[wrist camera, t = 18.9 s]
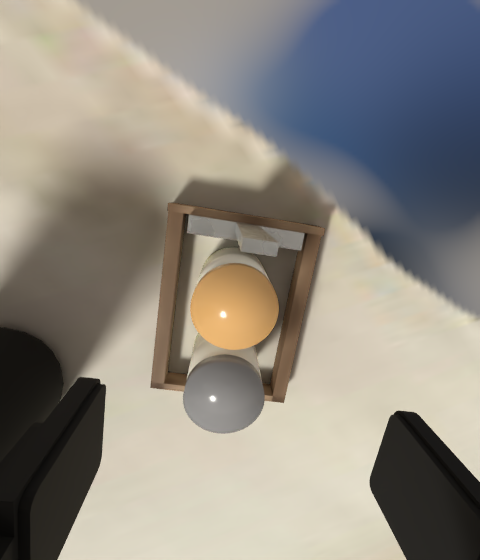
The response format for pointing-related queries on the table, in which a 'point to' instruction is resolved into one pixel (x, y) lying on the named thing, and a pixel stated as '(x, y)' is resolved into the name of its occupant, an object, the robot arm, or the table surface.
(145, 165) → the table surface
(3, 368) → the coffee jar
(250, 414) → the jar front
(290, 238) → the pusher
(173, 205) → the brown wooden frame
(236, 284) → the jar
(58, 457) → the robot arm
